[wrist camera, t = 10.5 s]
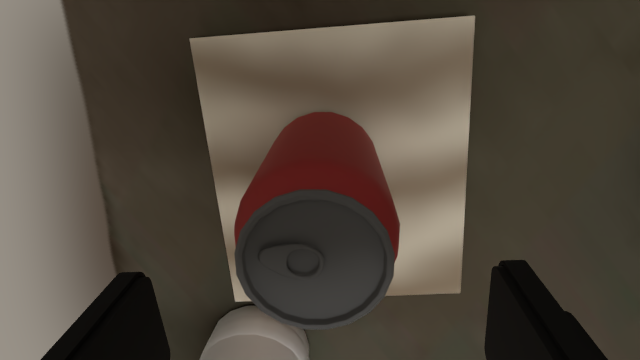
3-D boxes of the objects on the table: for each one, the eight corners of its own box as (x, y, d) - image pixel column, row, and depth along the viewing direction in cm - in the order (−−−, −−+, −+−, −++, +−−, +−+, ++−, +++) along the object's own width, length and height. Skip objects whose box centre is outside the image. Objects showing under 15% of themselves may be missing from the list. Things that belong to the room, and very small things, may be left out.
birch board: (196, 38, 24) (189, 38, 23) (468, 16, 23) (475, 15, 22) (239, 291, 30) (235, 301, 29) (455, 282, 29) (460, 292, 28)
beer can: (277, 101, 24) (224, 161, 12) (386, 118, 24) (431, 192, 13) (266, 201, 26) (213, 329, 15) (365, 216, 26) (388, 354, 15)
